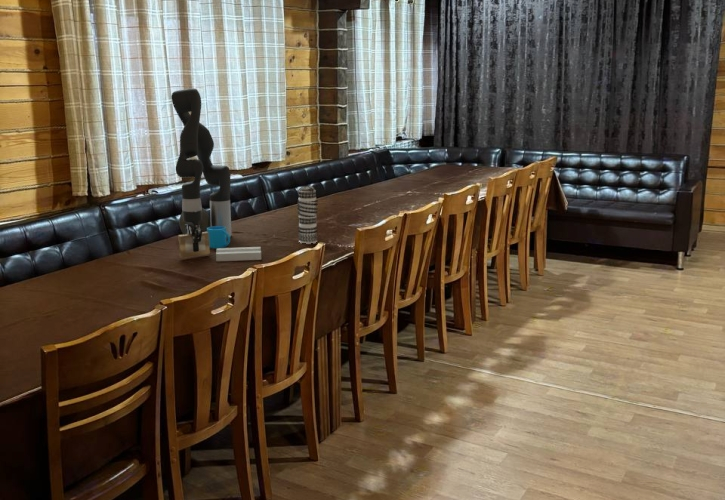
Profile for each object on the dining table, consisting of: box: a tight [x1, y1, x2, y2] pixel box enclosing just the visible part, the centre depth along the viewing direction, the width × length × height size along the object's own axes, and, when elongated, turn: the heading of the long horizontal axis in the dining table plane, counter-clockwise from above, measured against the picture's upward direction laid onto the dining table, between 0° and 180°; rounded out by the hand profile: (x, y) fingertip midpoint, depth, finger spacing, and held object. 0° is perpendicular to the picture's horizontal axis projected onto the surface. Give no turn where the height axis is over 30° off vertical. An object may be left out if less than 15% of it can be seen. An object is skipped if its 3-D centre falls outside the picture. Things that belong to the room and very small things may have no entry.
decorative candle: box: [296, 186, 319, 245], centre depth 302 cm, size 9×9×25 cm
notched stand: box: [215, 246, 262, 262], centre depth 277 cm, size 10×18×3 cm, turn 100°
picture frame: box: [177, 231, 211, 259], centre depth 275 cm, size 3×12×9 cm, turn 126°
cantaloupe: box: [178, 207, 211, 235], centre depth 309 cm, size 14×14×15 cm
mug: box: [206, 226, 231, 249], centre depth 295 cm, size 12×8×8 cm
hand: (194, 250), depth 275 cm, fingers closed on picture frame, 2 cm apart
